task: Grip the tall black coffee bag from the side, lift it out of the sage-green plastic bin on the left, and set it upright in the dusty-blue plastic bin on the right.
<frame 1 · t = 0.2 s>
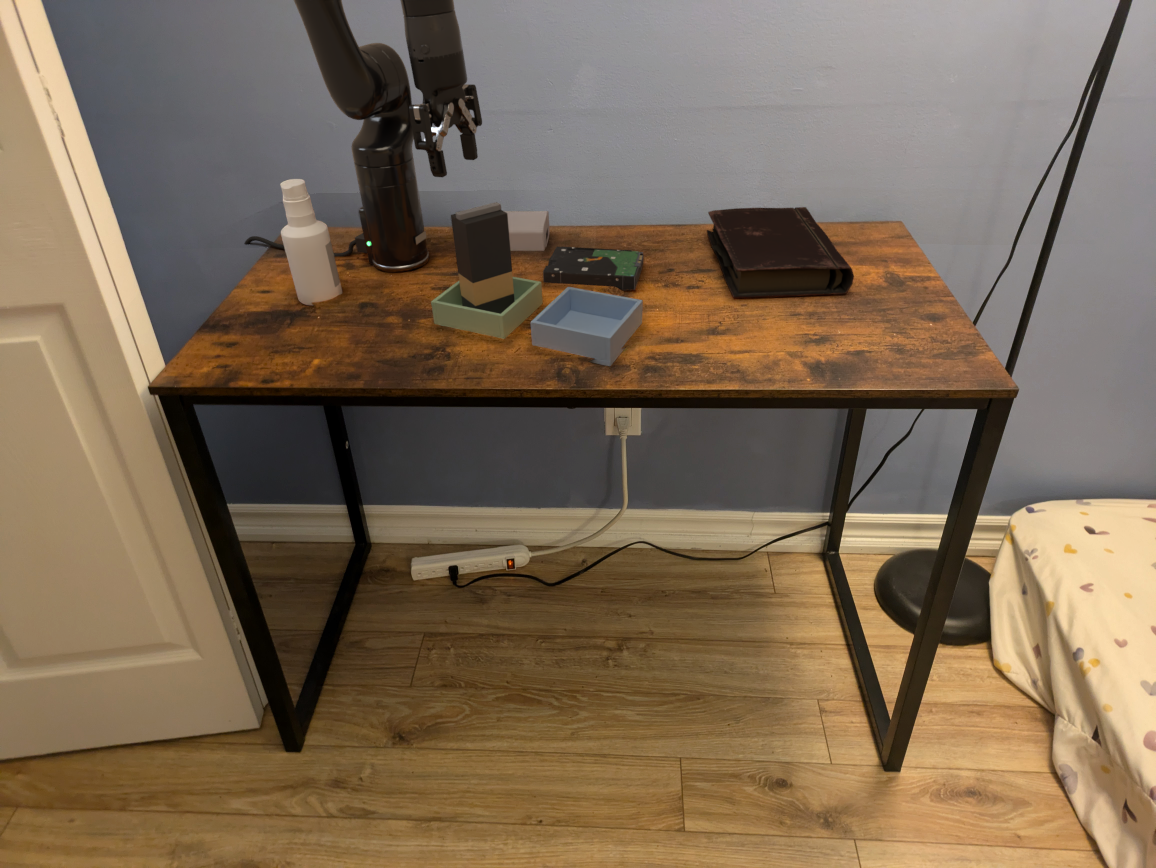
hand: (455, 167, 115), 17 cm above the table, tool pointing down, fingers open, 8 cm apart
right bin: (588, 338, 107), on the table
spray bottle: (321, 297, 120), on the table
diary: (770, 264, 126), on the table
charger: (505, 245, 135), on the table
left bin: (490, 317, 113), on the table
coffee bag: (489, 313, 113), point 1 cm above the table, touching left bin
disk drive: (594, 277, 124), on the table
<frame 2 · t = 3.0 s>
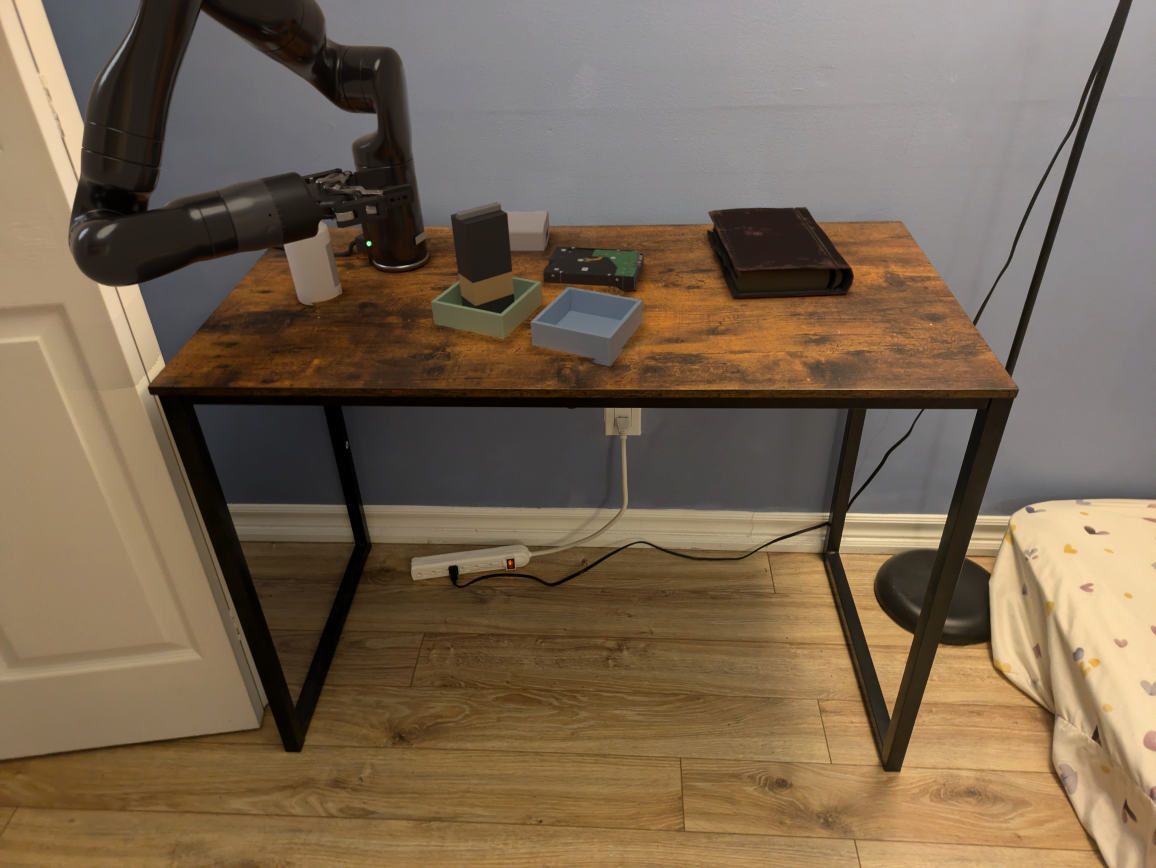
hand: (397, 184, 95), 22 cm above the table, tool horizontal, fingers open, 8 cm apart
nothing on the table moved.
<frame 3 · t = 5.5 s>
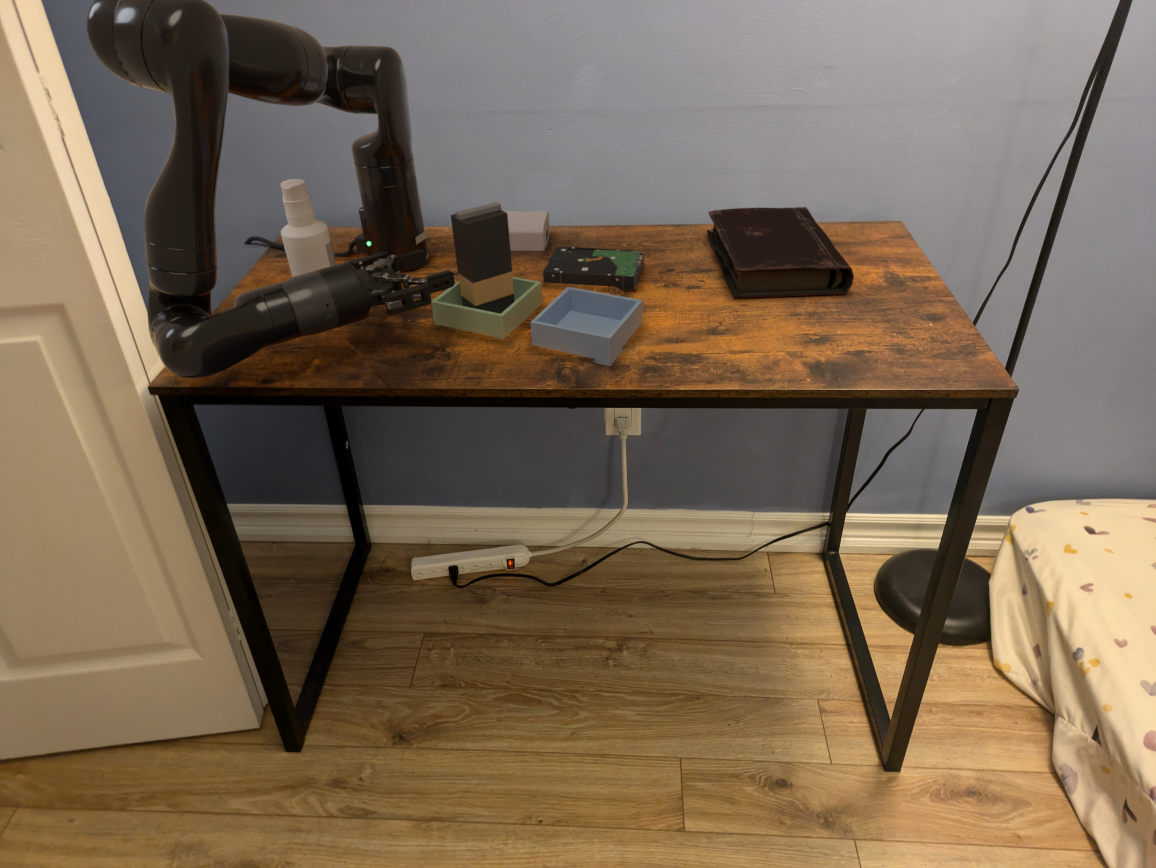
hand: (438, 267, 104), 10 cm above the table, tool horizontal, fingers open, 8 cm apart
nothing on the table moved.
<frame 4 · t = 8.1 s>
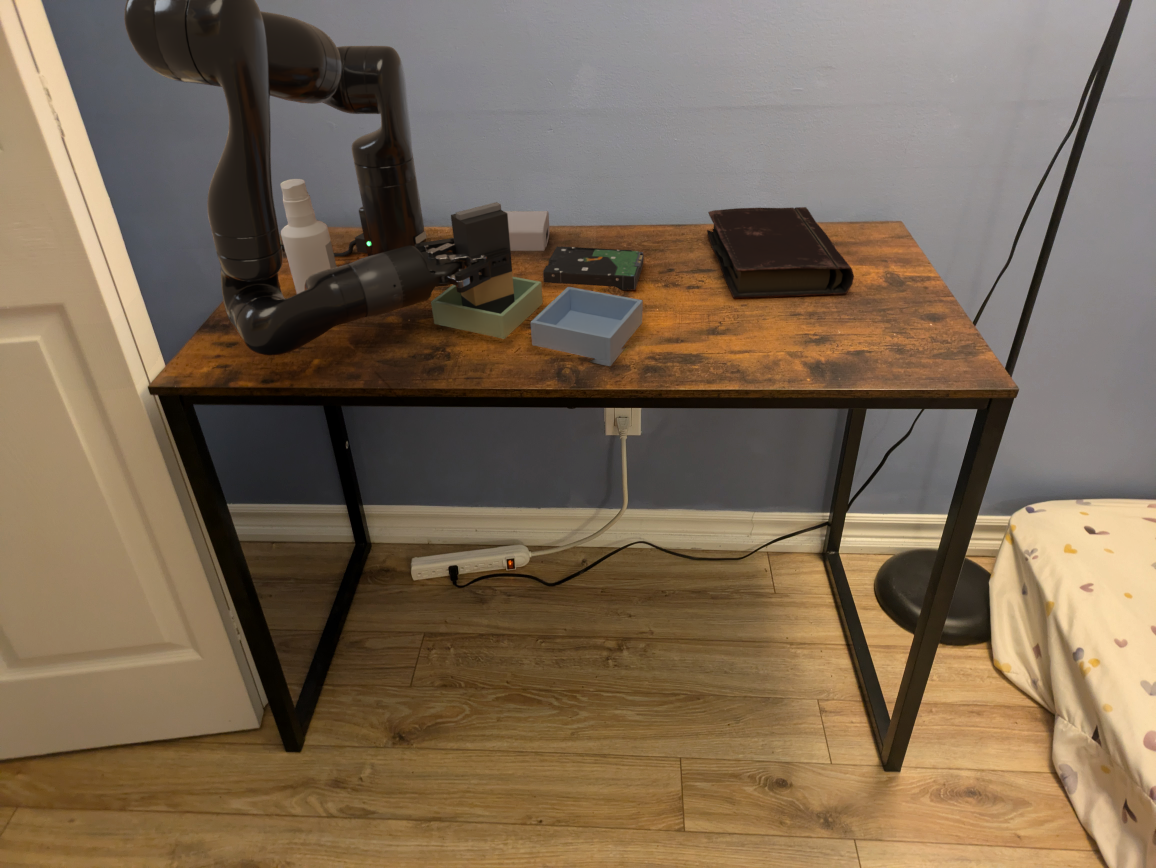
hand: (499, 249, 108), 10 cm above the table, tool horizontal, fingers closed on coffee bag, 4 cm apart
coffee bag: (489, 313, 113), point 1 cm above the table, touching gripper, left bin
everything else where it was.
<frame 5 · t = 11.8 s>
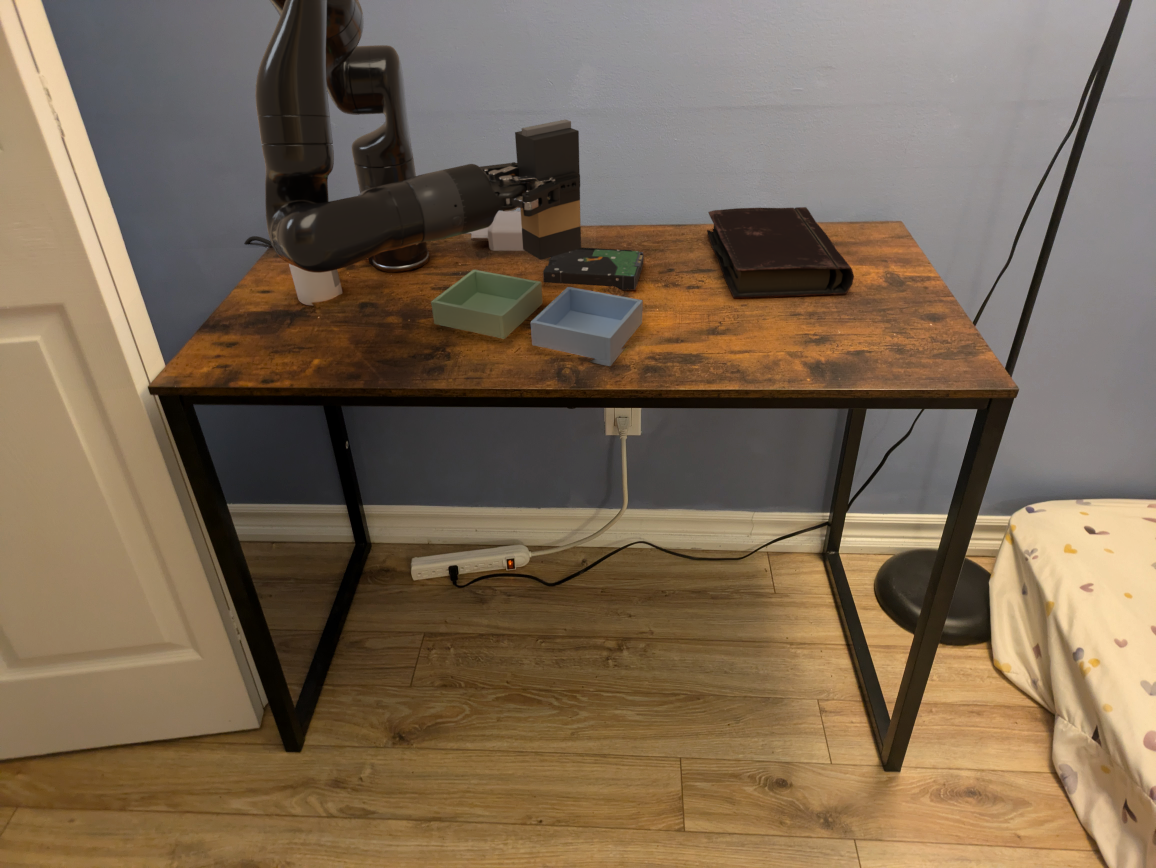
hand: (566, 175, 97), 22 cm above the table, tool horizontal, fingers closed on coffee bag, 4 cm apart
coffee bag: (552, 248, 101), point 13 cm above the table, touching gripper
everything else where it was.
when the fingers open (10 cm above the table, at t = 16.0 s): coffee bag stays where it is, resting on right bin.
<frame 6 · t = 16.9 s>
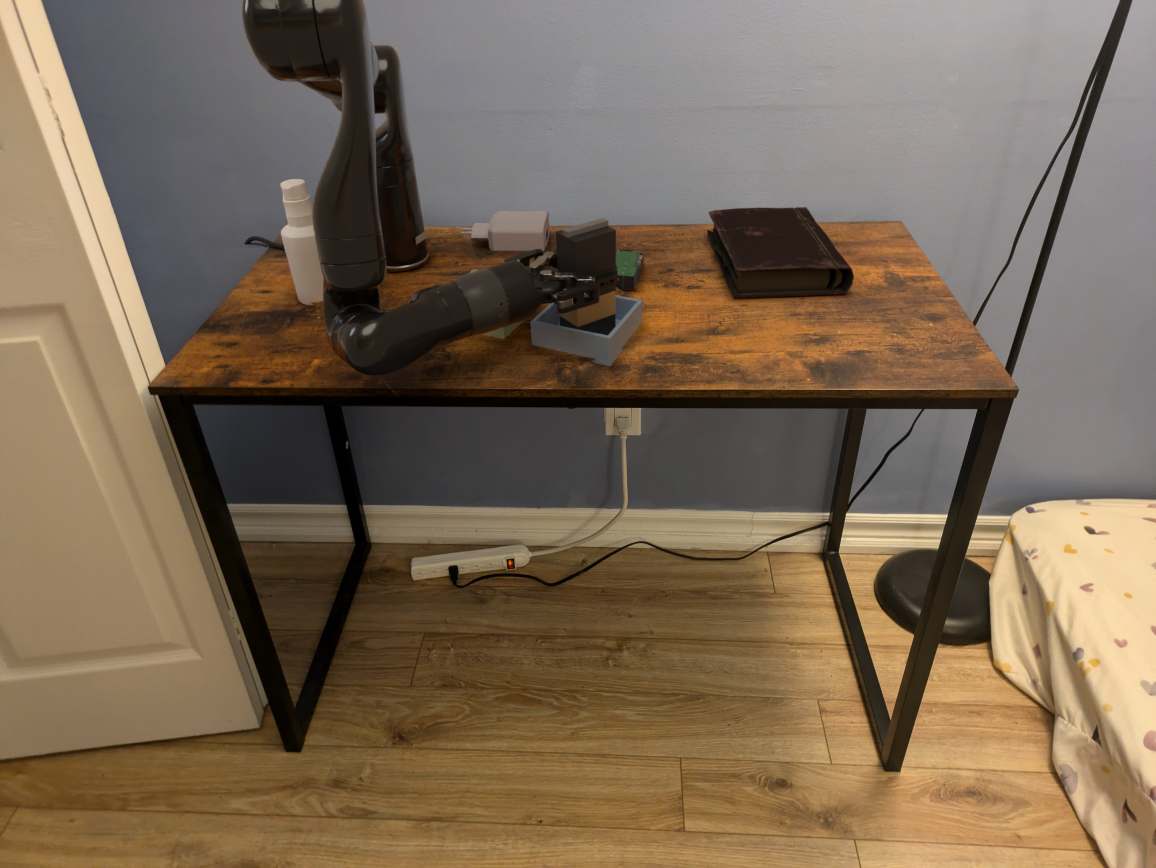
hand: (596, 264, 102), 11 cm above the table, tool horizontal, fingers open, 8 cm apart
coffee bag: (588, 333, 107), point 1 cm above the table, touching right bin
everything else where it was.
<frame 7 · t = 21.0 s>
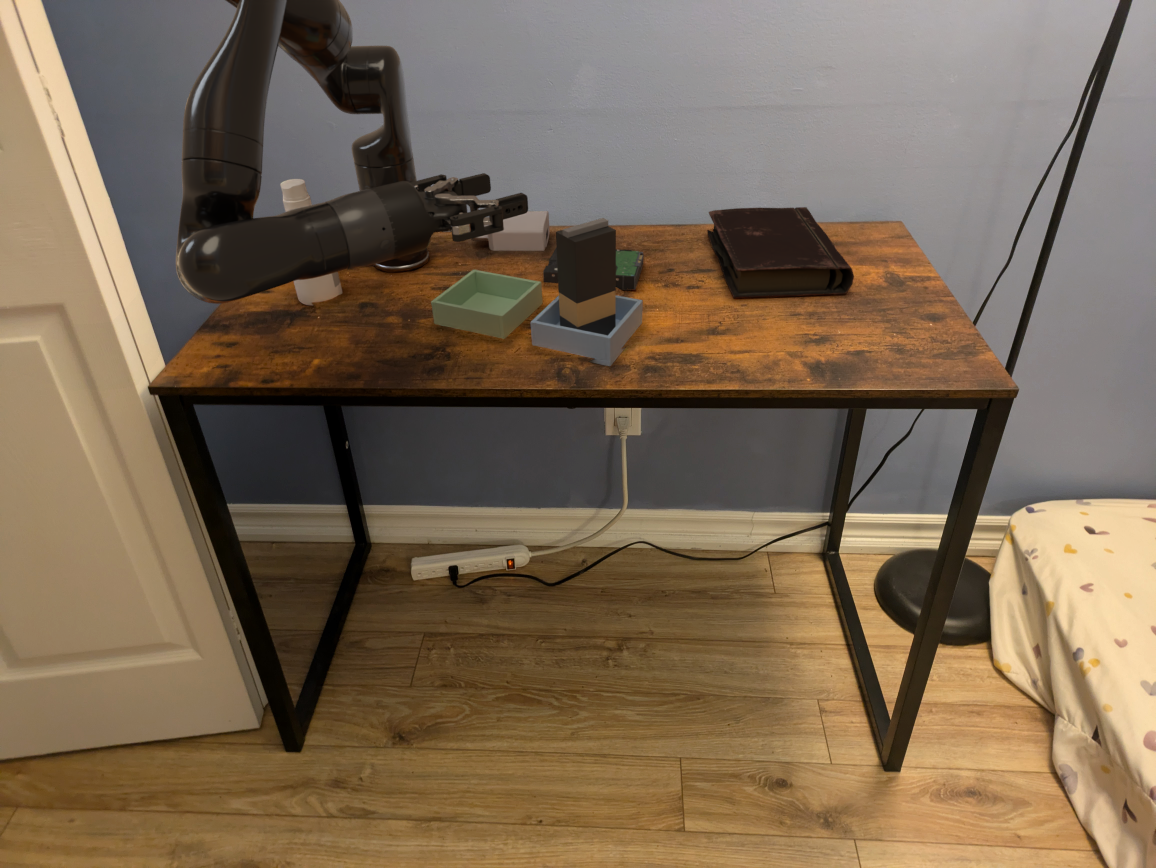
hand: (506, 191, 89), 23 cm above the table, tool horizontal, fingers open, 8 cm apart
nothing on the table moved.
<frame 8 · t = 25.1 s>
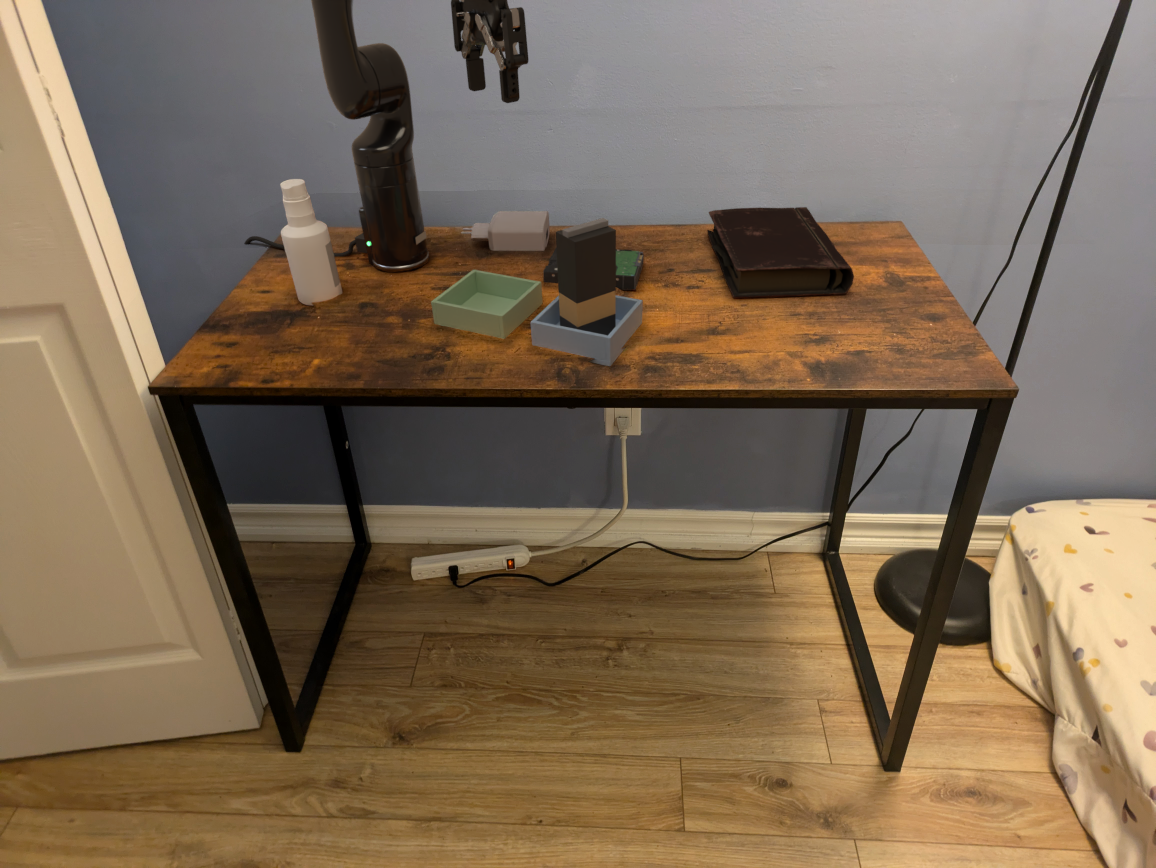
hand: (493, 95, 97), 30 cm above the table, tool pointing down, fingers open, 8 cm apart
nothing on the table moved.
at the end: coffee bag inside the target area in the right bin (0.2 cm from its centre), point 0.8 cm above the right bin's base; coffee bag tilted 0°; the gripper is holding nothing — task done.
